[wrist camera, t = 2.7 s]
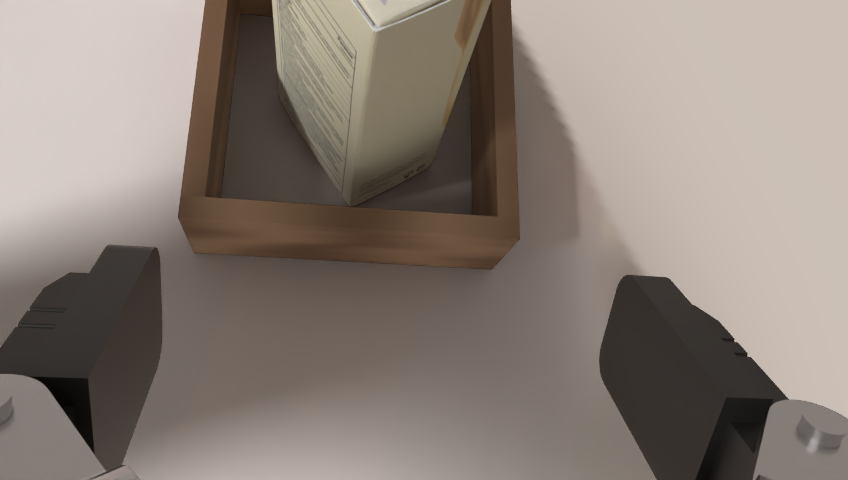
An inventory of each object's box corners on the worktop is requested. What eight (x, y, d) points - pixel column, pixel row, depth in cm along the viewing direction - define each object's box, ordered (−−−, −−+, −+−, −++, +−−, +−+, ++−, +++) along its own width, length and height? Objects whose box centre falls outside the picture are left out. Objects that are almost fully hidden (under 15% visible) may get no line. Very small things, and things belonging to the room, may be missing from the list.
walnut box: (193, 252, 28) (177, 217, 24) (223, -4, 32) (213, -69, 28) (491, 269, 30) (519, 238, 26) (485, 25, 34) (509, -33, 30)
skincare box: (434, 166, 31) (515, -19, 20) (348, 212, 30) (380, 42, 18) (358, 51, 32) (391, -187, 21) (271, 90, 31) (256, -142, 19)
